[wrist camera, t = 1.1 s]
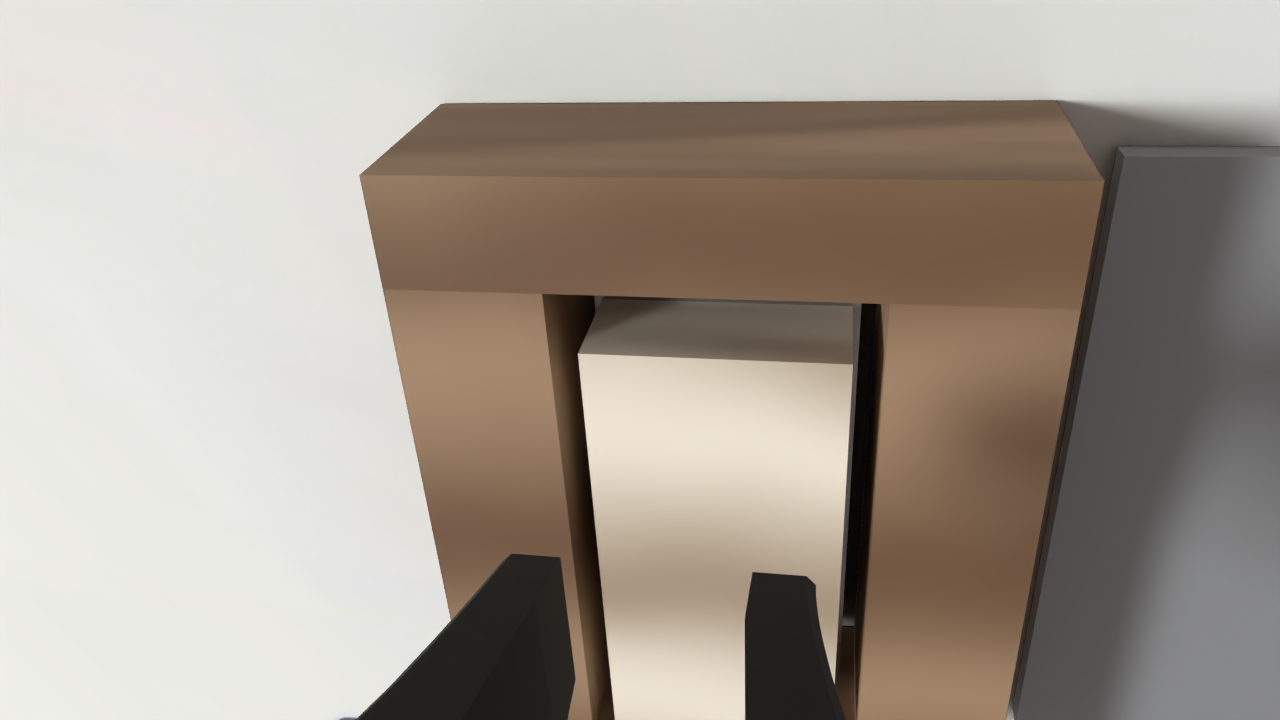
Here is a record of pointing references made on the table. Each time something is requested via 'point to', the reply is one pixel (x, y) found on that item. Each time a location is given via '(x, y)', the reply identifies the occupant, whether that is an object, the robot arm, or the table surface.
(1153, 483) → the slate mat
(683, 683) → the birch bar
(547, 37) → the table surface
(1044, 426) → the walnut board
